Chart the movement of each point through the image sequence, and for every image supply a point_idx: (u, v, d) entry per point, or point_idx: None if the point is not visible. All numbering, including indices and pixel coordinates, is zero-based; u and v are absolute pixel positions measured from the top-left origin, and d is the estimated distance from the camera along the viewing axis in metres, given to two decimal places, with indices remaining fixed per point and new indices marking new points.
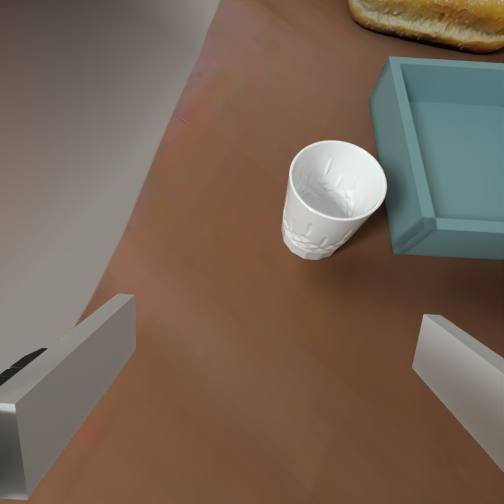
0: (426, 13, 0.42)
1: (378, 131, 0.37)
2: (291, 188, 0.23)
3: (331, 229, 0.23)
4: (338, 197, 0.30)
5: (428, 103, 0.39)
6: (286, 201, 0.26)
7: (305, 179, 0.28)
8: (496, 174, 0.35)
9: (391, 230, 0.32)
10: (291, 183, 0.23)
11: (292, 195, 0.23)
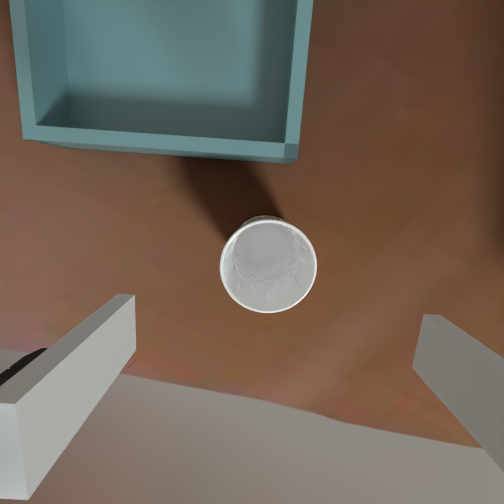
0: None
1: (129, 151, 0.30)
2: None
3: None
4: None
5: (69, 66, 0.28)
6: None
7: (234, 271, 0.28)
8: (188, 1, 0.27)
9: (264, 161, 0.31)
10: (274, 311, 0.24)
11: (281, 307, 0.25)
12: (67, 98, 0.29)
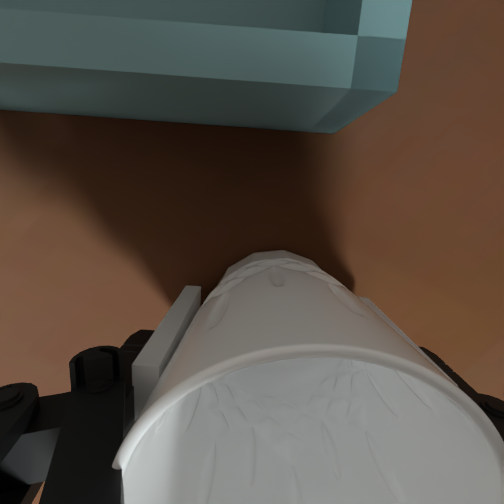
0: None
1: None
2: None
3: None
4: None
5: None
6: None
7: (197, 420, 0.10)
8: None
9: (276, 127, 0.13)
10: None
11: None
12: None
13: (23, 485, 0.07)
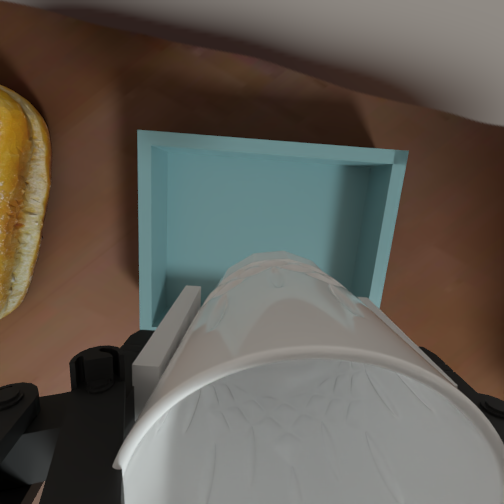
0: (13, 246, 0.29)
1: None
2: None
3: None
4: None
5: (169, 254, 0.33)
6: None
7: (197, 421, 0.10)
8: (274, 207, 0.31)
9: None
10: None
11: None
12: (165, 280, 0.33)
13: (23, 484, 0.07)
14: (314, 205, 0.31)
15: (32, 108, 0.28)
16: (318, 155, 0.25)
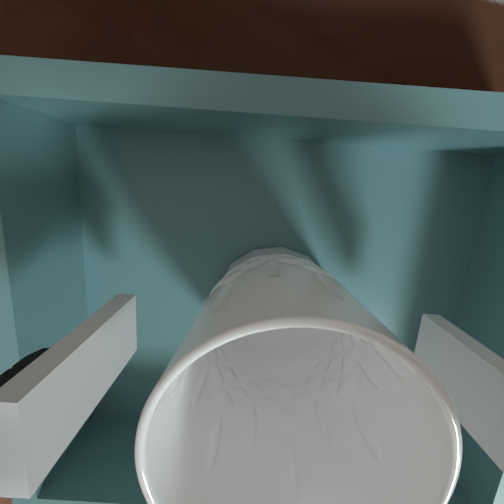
0: None
1: None
2: None
3: None
4: None
5: None
6: None
7: (205, 395, 0.11)
8: (296, 236, 0.16)
9: None
10: None
11: None
12: None
13: None
14: (376, 231, 0.16)
15: None
16: (421, 118, 0.10)
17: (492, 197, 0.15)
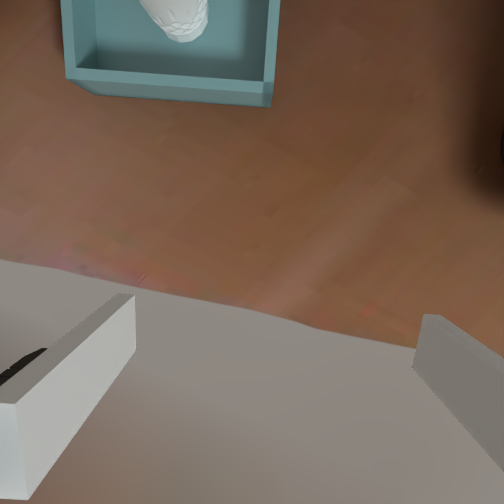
0: None
1: (144, 96, 0.38)
2: None
3: None
4: None
5: (98, 27, 0.36)
6: (170, 16, 0.30)
7: None
8: None
9: (250, 105, 0.39)
10: None
11: (174, 0, 0.28)
12: (95, 52, 0.37)
13: None
14: None
15: None
16: None
17: None
